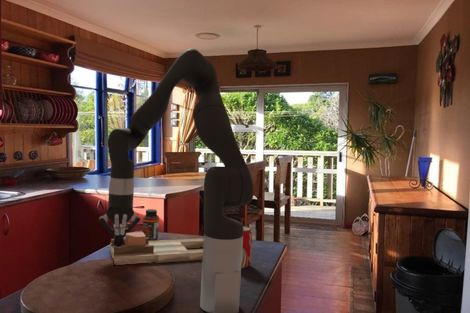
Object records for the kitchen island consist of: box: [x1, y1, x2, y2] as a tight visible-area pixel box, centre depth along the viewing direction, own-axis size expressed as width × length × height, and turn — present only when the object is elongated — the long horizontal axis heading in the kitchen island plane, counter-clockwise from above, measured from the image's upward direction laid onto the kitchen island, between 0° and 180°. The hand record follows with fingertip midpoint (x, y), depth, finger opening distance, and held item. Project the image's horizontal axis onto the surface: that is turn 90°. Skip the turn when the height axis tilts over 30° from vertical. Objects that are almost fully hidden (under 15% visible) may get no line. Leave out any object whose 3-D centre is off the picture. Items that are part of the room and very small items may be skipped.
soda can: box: [241, 225, 253, 269], centre depth 123 cm, size 7×7×12 cm
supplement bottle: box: [141, 208, 160, 241], centre depth 146 cm, size 6×6×11 cm
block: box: [125, 231, 146, 247], centre depth 127 cm, size 6×6×4 cm
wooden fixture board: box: [109, 237, 204, 264], centre depth 131 cm, size 16×35×4 cm, turn 112°
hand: (118, 246), depth 124 cm, fingers closed
